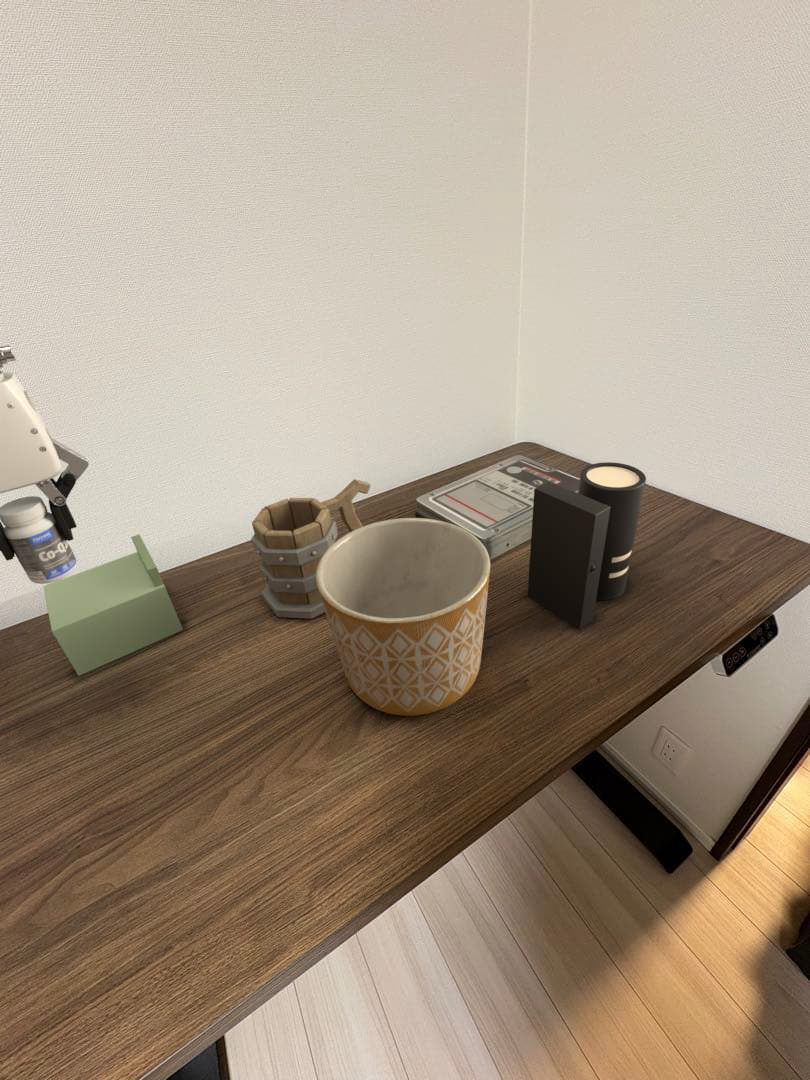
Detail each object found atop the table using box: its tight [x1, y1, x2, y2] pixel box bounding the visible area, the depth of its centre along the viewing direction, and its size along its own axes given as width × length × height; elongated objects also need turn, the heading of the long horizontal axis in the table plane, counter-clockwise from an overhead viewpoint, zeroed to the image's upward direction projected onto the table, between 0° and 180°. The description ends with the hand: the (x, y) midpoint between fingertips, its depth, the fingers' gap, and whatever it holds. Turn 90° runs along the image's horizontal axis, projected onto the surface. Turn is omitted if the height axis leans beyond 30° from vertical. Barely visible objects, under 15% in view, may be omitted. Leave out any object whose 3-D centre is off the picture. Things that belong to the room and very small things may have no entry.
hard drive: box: [414, 454, 580, 561], centre depth 96 cm, size 18×27×4 cm
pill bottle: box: [0, 495, 78, 585], centre depth 56 cm, size 5×5×8 cm
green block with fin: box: [43, 534, 184, 677], centre depth 75 cm, size 14×12×11 cm
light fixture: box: [526, 461, 647, 630], centre depth 72 cm, size 10×14×18 cm
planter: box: [316, 517, 491, 717], centre depth 63 cm, size 19×19×16 cm
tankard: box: [250, 478, 372, 620], centre depth 80 cm, size 20×13×15 cm, turn 126°
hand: (39, 542), depth 56 cm, fingers closed on pill bottle, 4 cm apart
